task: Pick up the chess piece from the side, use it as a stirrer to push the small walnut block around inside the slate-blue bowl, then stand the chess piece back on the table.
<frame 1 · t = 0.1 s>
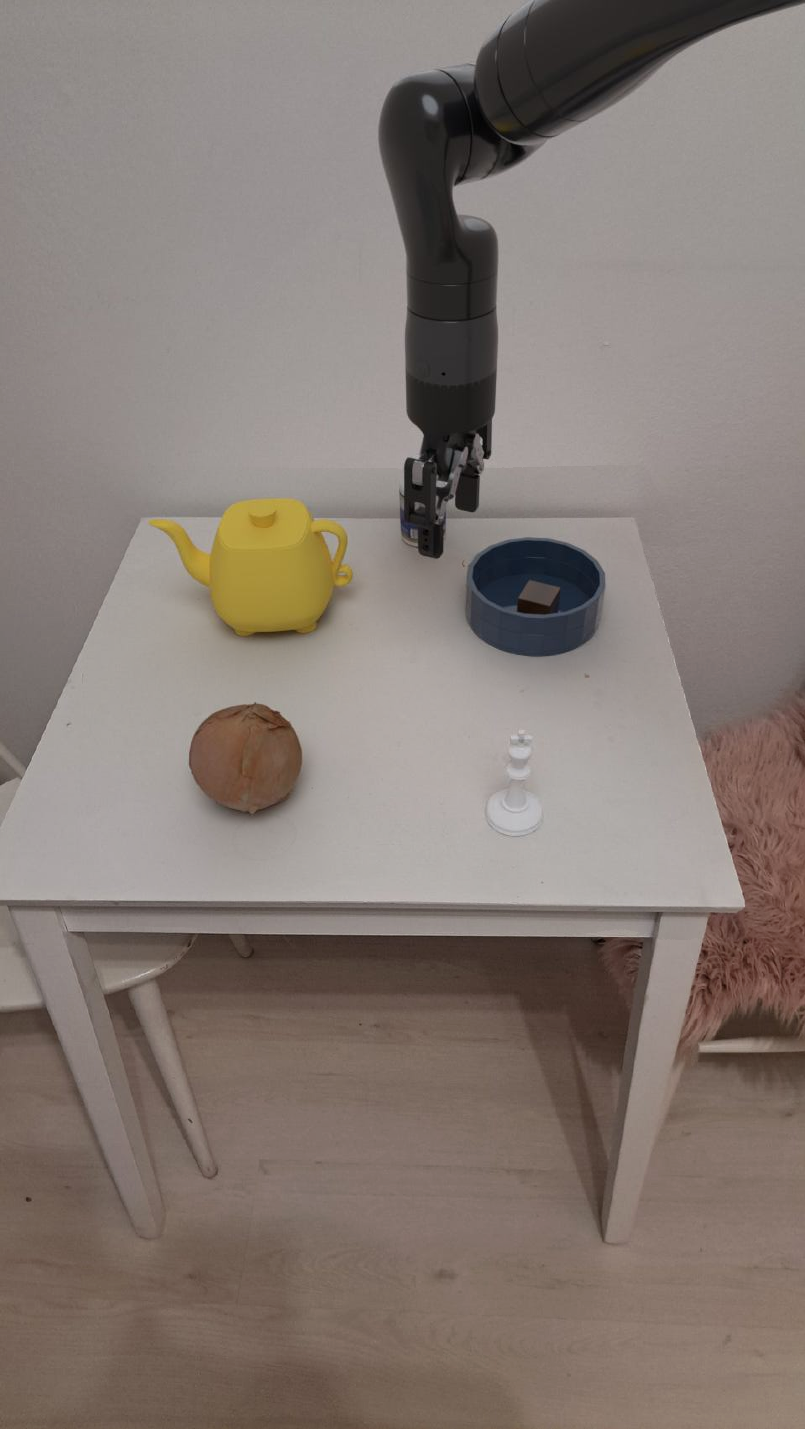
hand: (449, 531, 87), 14 cm above the table, tool pointing down, fingers open, 8 cm apart
block: (536, 619, 98), point 1 cm above the table, touching bowl
onion: (253, 792, 82), on the table
teapot: (264, 611, 101), on the table
pill bottle: (423, 537, 111), on the table
chess piece: (514, 815, 80), on the table
bowl: (532, 613, 100), on the table
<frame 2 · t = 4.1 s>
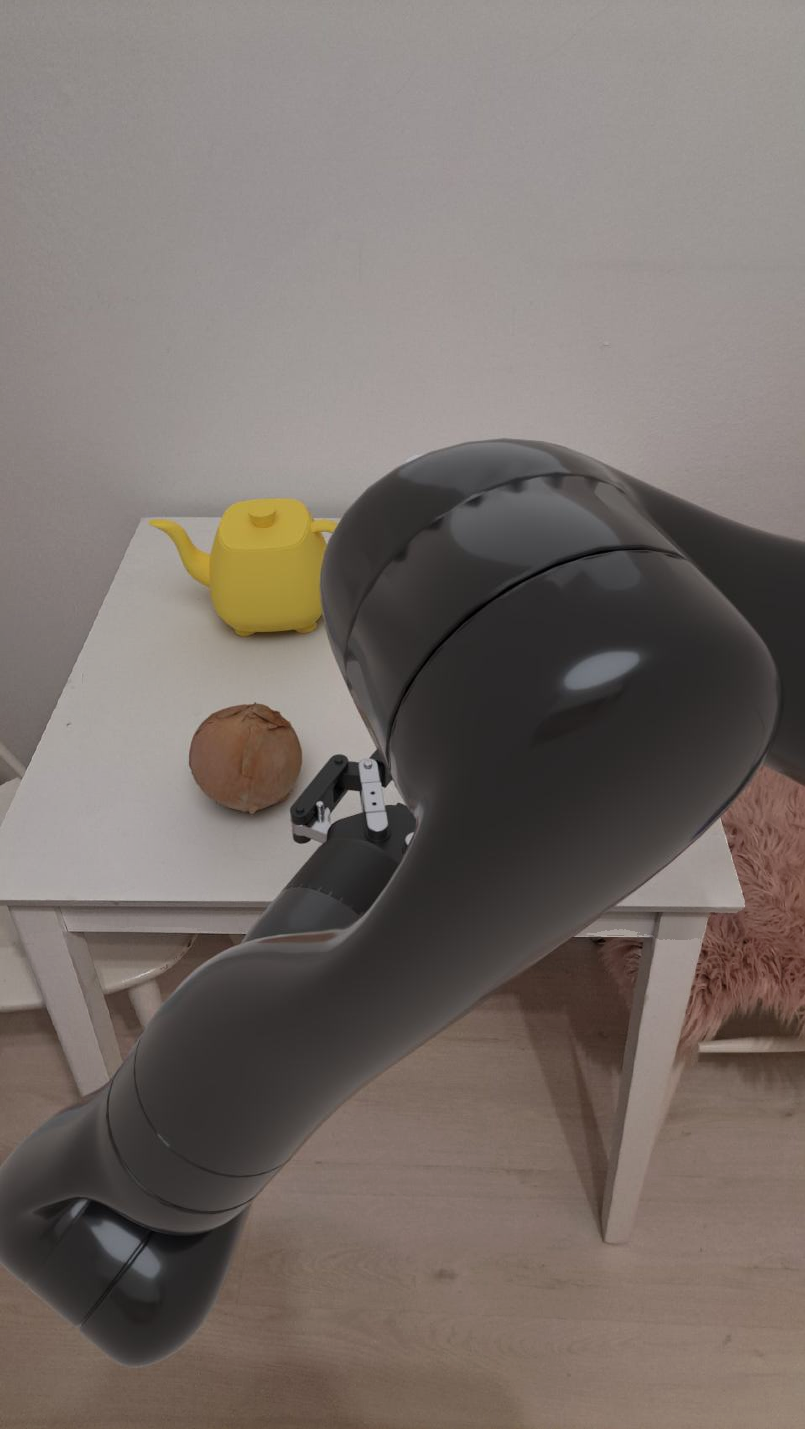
hand: (465, 762, 61), 17 cm above the table, tool horizontal, fingers open, 8 cm apart
nothing on the table moved.
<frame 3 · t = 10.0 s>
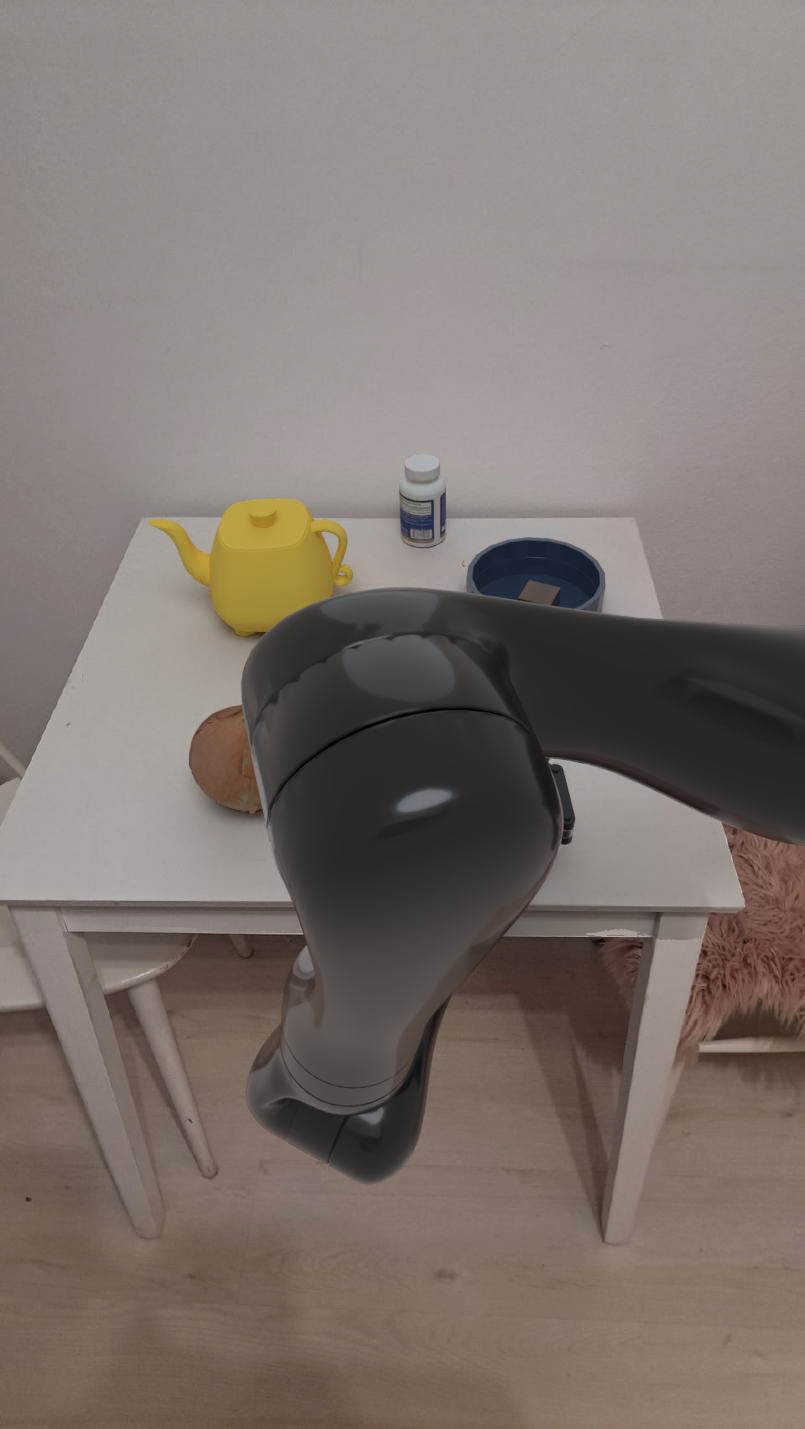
hand: (532, 725, 76), 8 cm above the table, tool horizontal, fingers closed on chess piece
chess piece: (514, 815, 80), on the table, touching gripper
everything else where it was.
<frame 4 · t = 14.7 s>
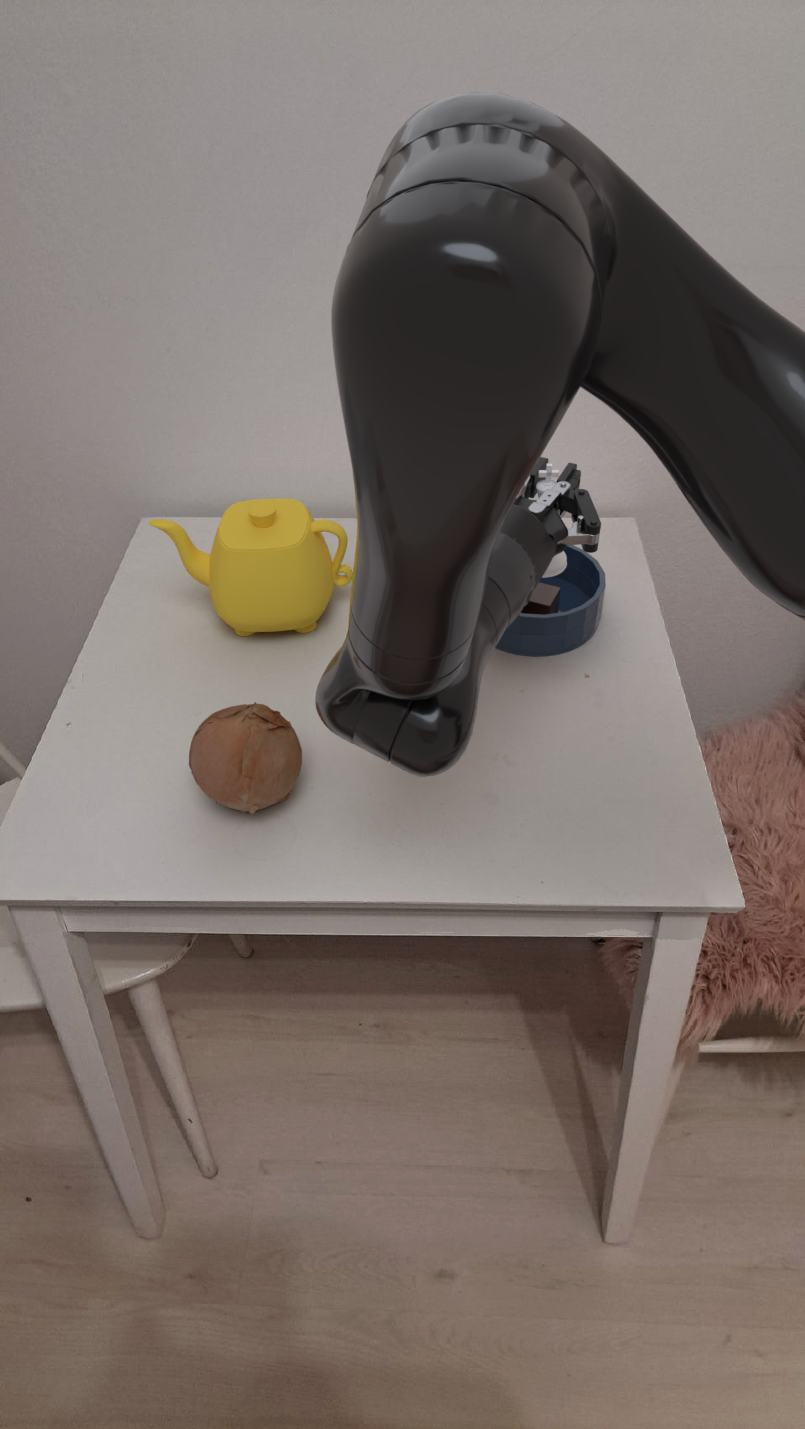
hand: (557, 470, 83), 20 cm above the table, tool horizontal, fingers closed on chess piece
chess piece: (539, 564, 86), point 12 cm above the table, touching gripper
everything else where it was.
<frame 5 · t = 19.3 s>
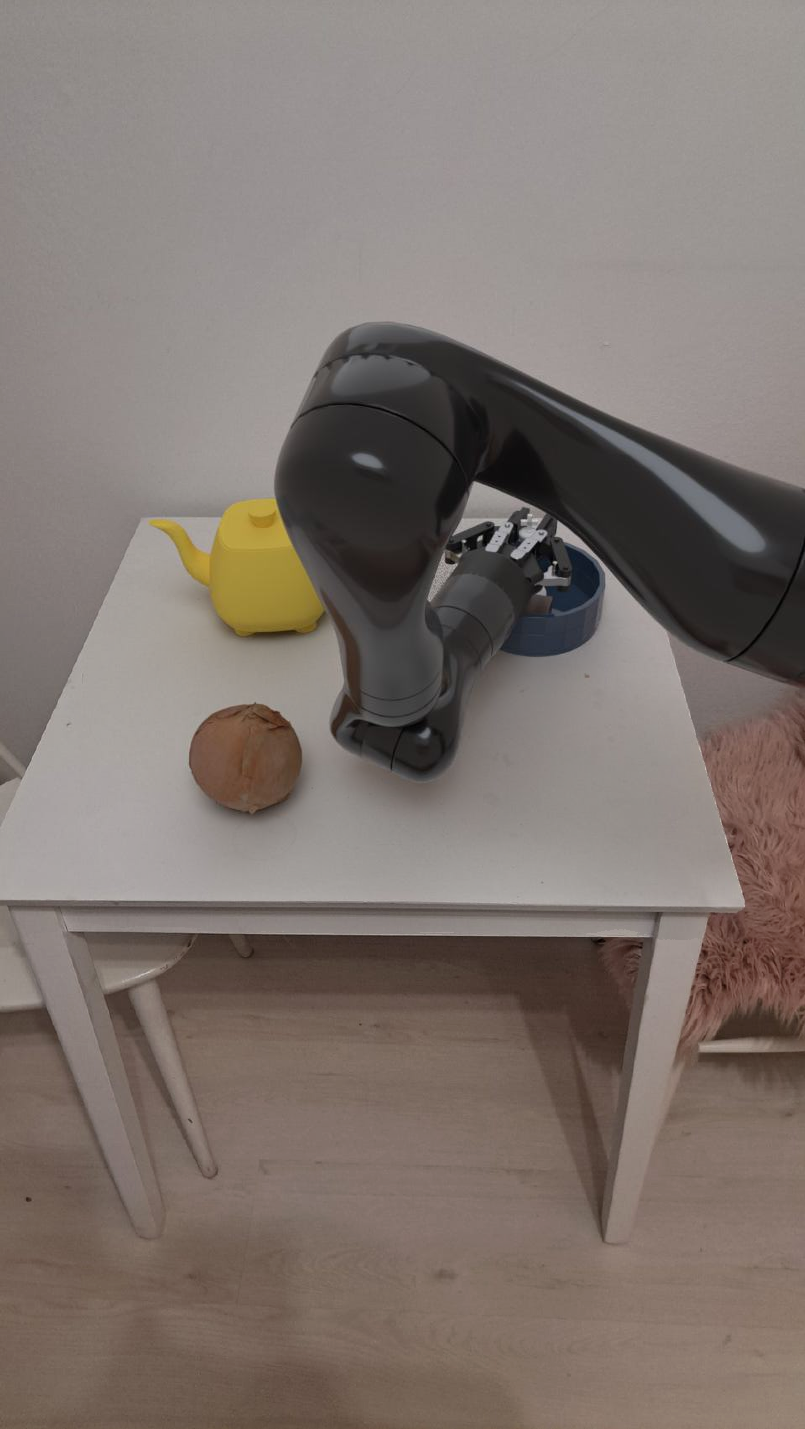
hand: (537, 518, 96), 10 cm above the table, tool horizontal, fingers closed on chess piece
block: (530, 630, 96), point 1 cm above the table, touching bowl
chess piece: (523, 598, 99), point 1 cm above the table, touching gripper
everything else where it was.
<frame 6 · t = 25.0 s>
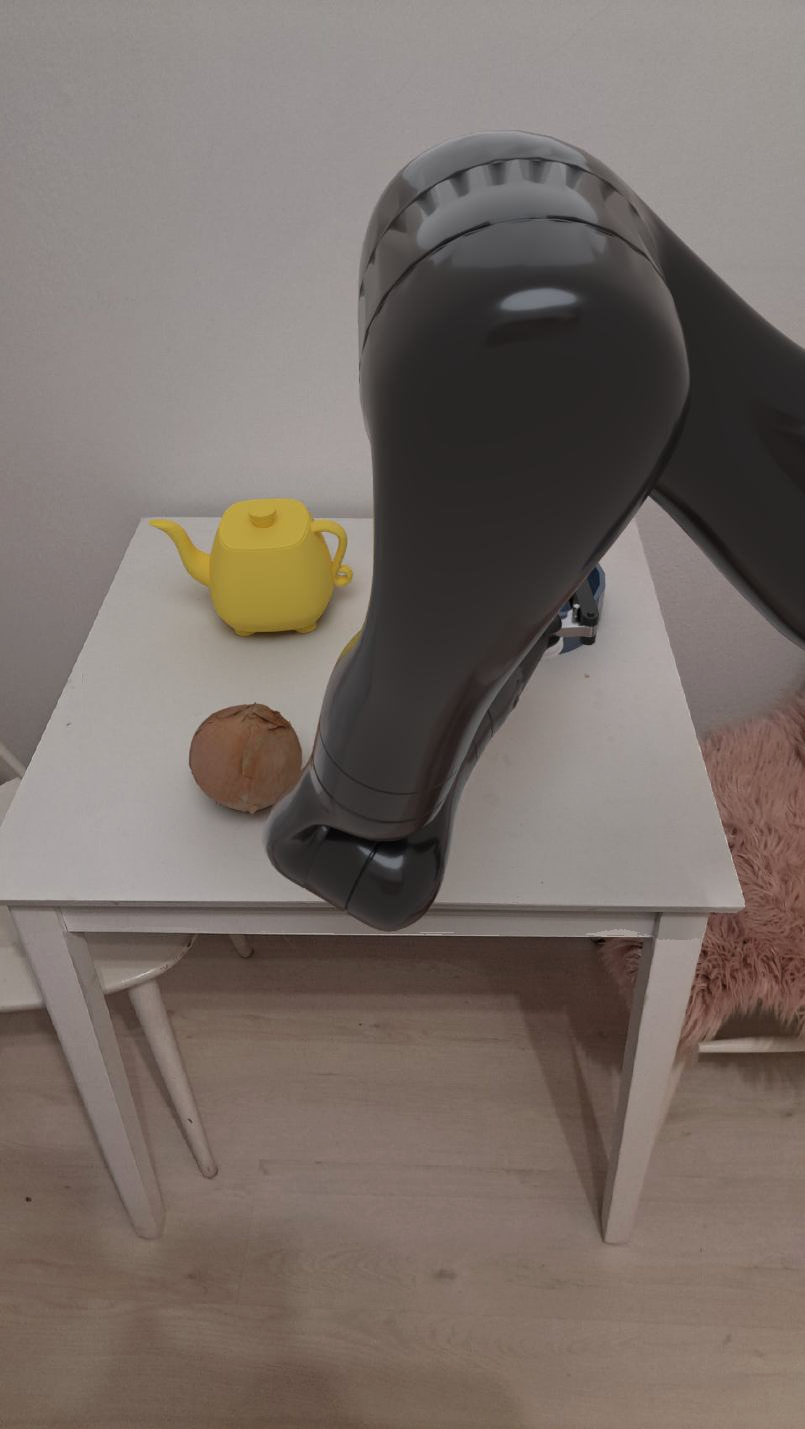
hand: (552, 544, 74), 20 cm above the table, tool horizontal, fingers closed on chess piece
chess piece: (533, 644, 78), point 11 cm above the table, touching gripper
everything else where it was.
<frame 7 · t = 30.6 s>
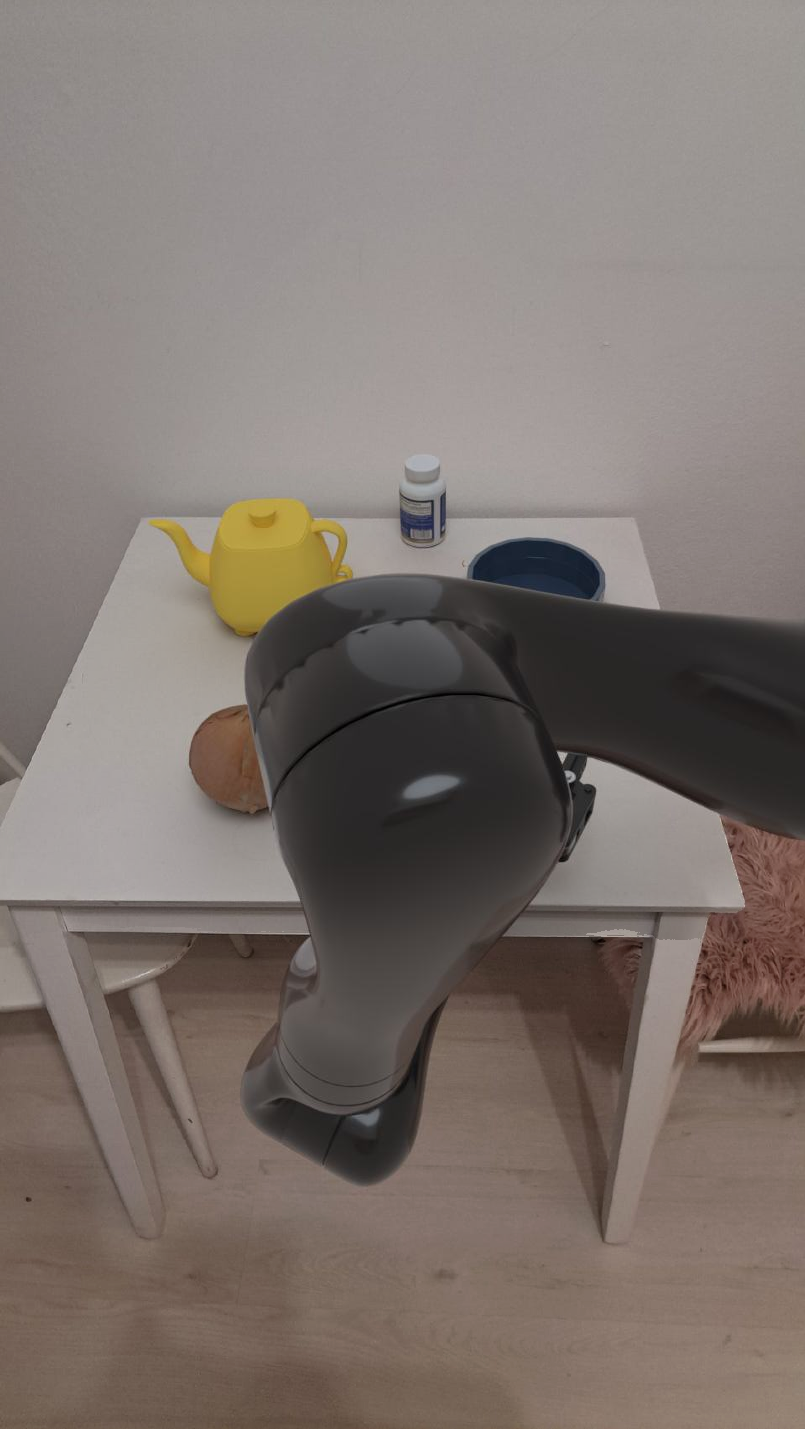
hand: (527, 731, 75), 9 cm above the table, tool horizontal, fingers open, 8 cm apart
chess piece: (513, 816, 80), on the table
everything else where it was.
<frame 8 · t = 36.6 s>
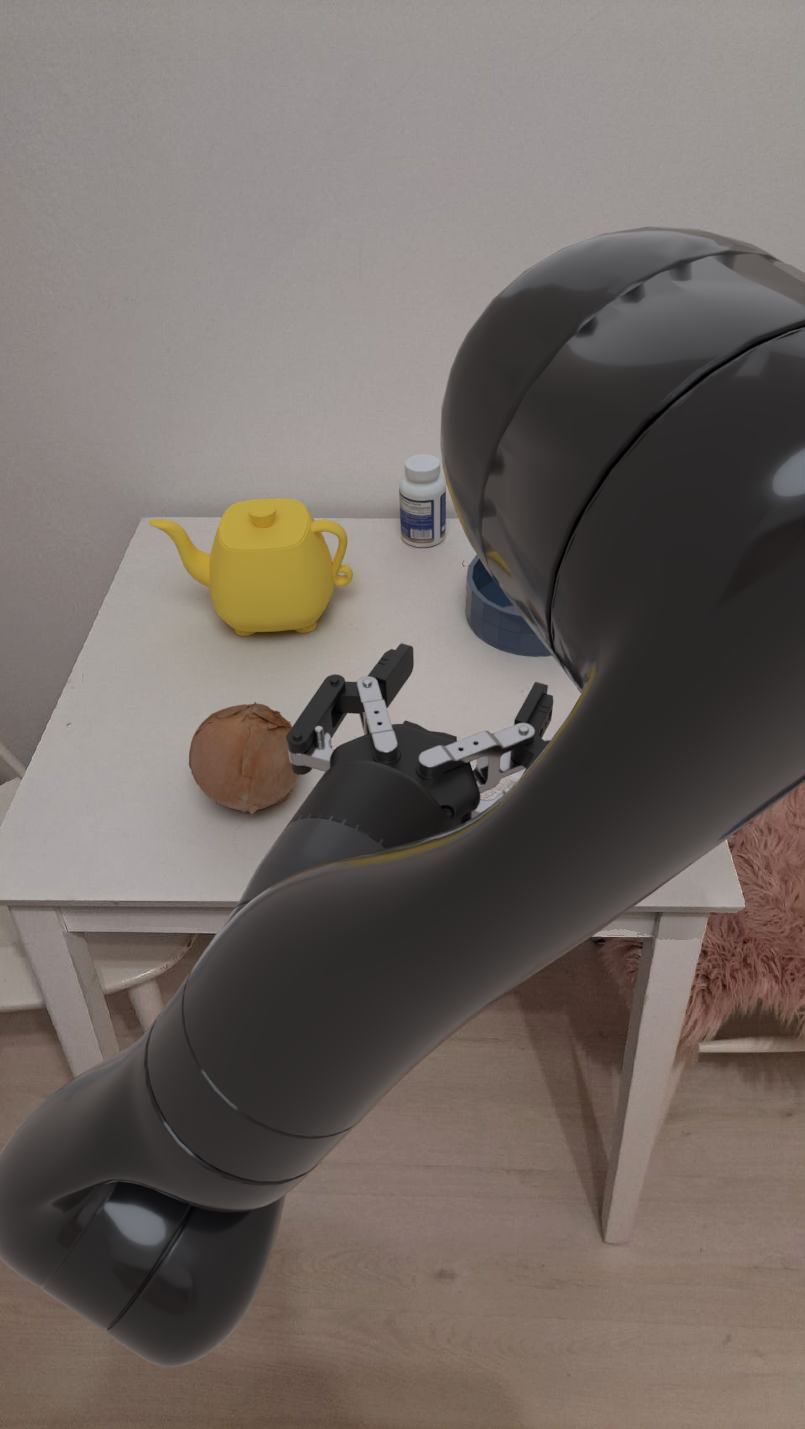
hand: (472, 674, 55), 25 cm above the table, tool horizontal, fingers open, 8 cm apart
nothing on the table moved.
at the end: block moved 2.1 cm from its start; block inside the target area in the bowl (3.8 cm from its centre), point 0.6 cm above the bowl's base; chess piece tilted 0° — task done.
